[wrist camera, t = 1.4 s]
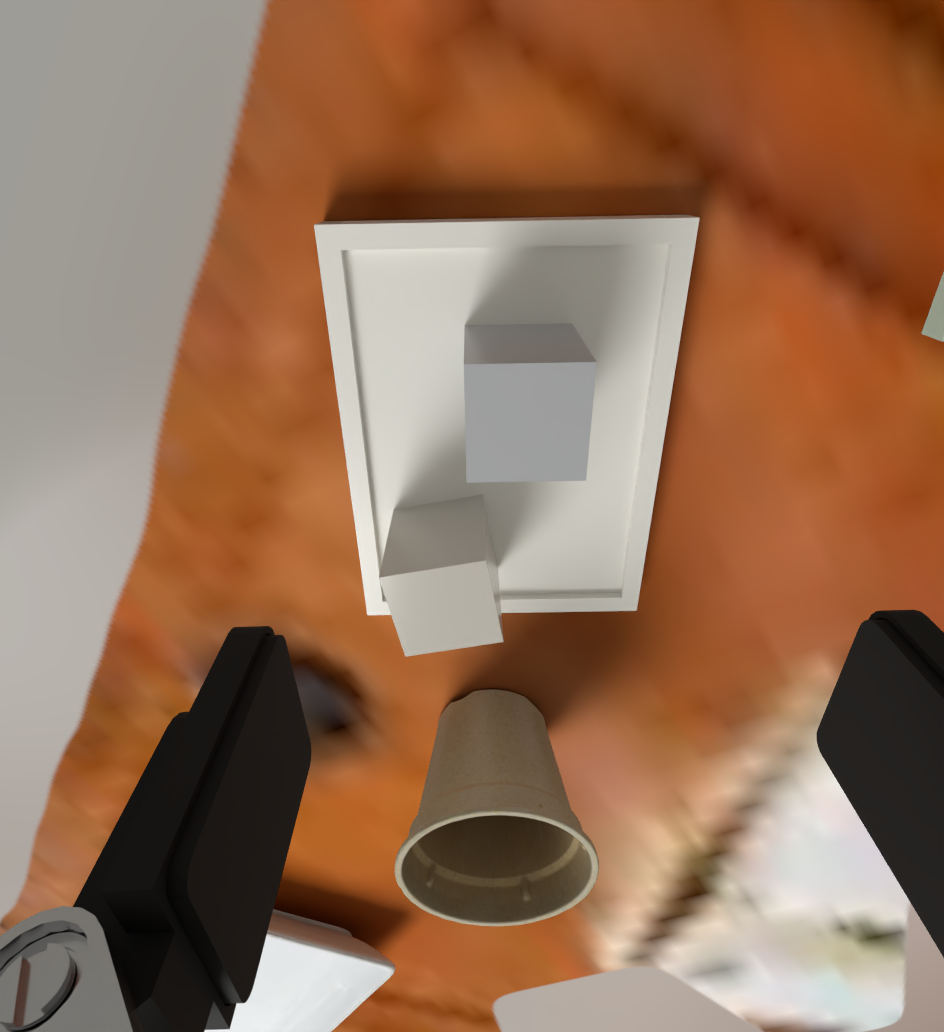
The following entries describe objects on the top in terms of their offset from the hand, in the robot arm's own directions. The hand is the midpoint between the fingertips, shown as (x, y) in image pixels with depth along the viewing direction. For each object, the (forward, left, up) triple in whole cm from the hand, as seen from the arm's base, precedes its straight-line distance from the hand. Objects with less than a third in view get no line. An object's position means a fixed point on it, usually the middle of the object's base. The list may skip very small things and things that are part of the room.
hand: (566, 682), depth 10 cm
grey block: (0, 0, -16) cm, 16 cm away
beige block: (+3, +7, -16) cm, 17 cm away
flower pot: (+1, +21, -17) cm, 27 cm away
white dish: (0, +3, -17) cm, 17 cm away
